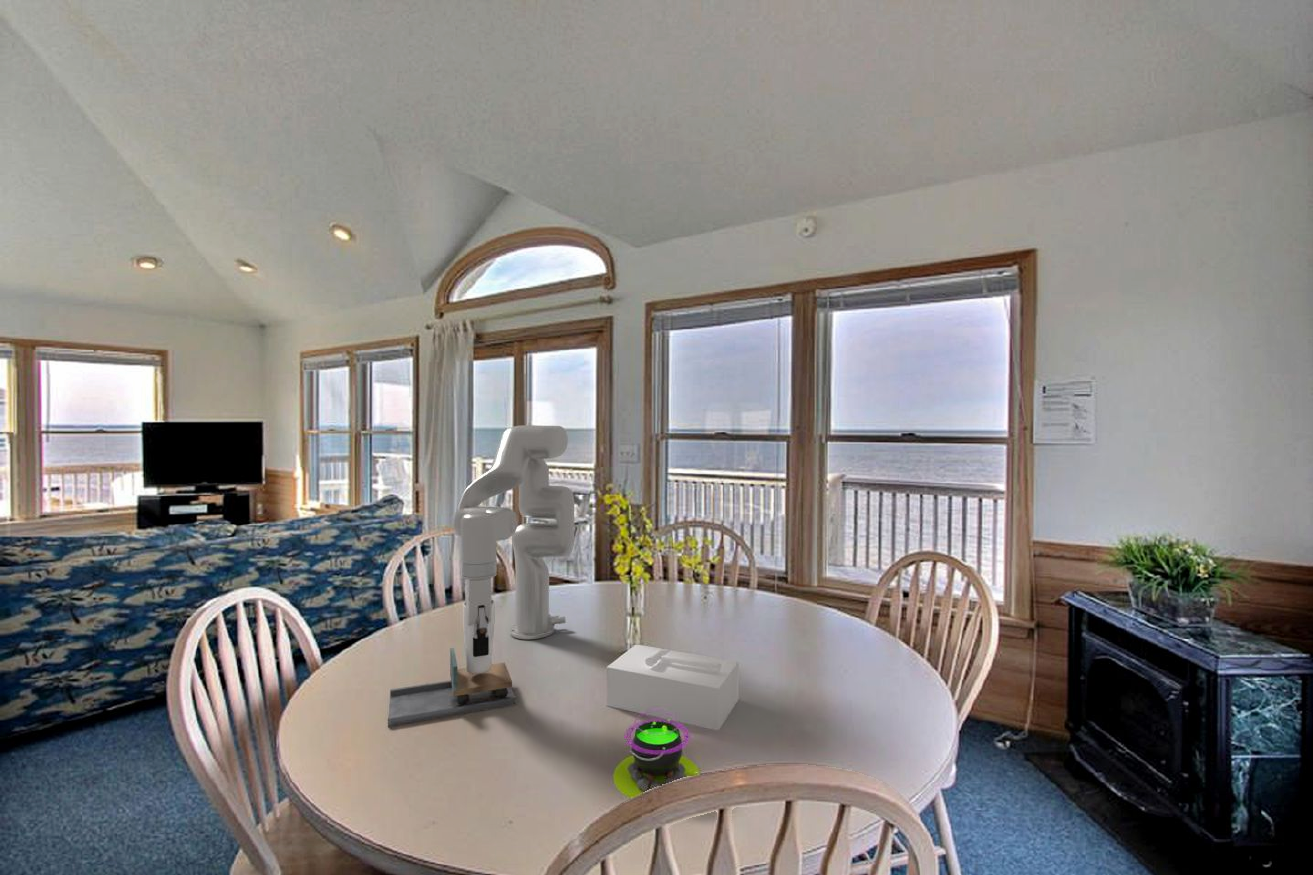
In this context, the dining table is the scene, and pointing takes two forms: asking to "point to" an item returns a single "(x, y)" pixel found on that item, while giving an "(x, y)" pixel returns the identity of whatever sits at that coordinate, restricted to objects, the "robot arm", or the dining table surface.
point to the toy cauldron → (653, 757)
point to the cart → (478, 680)
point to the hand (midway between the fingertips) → (479, 648)
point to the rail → (438, 702)
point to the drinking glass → (472, 663)
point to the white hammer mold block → (674, 685)
